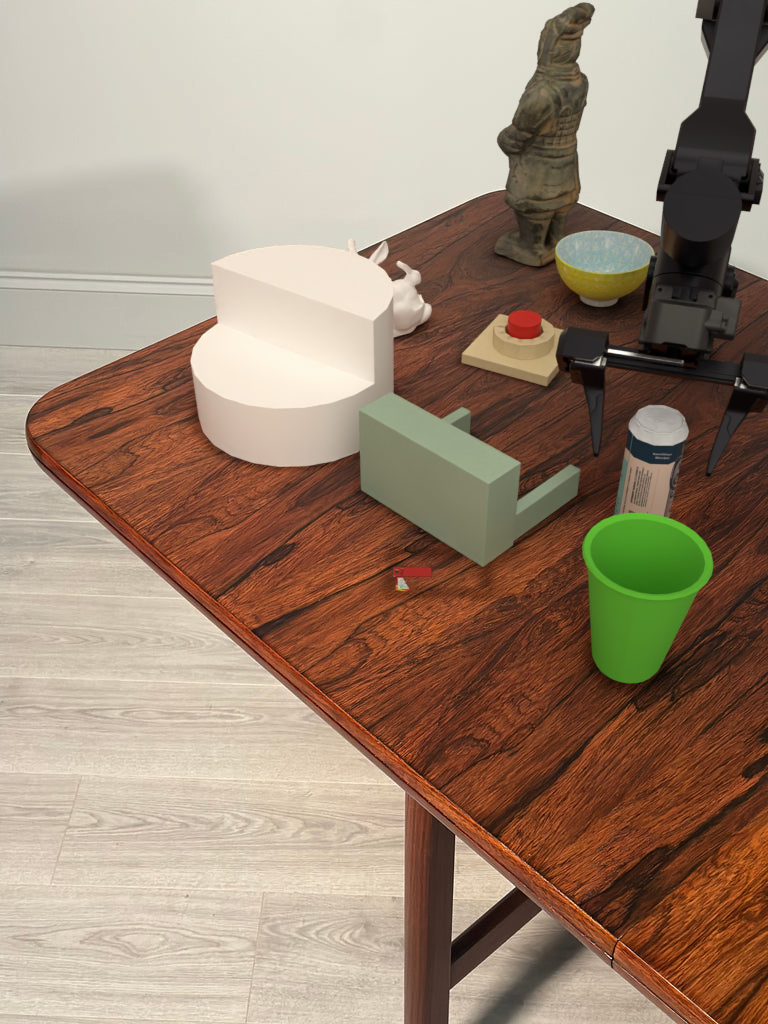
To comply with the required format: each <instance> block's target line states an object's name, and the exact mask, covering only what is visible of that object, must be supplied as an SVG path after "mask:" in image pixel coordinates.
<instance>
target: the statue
mask: <svg viewBox="0 0 768 1024" xmlns="http://www.w3.org/2000/svg"><path fill="white" fill-rule="evenodd" d="M595 11H596V8H595V6H594V5H593V4H591V2H584V1H582V2H579V3H577V4H575V5H573V6H570V7H567V8H566V9H565V10H563V11H562V12H561V13H559V14H557V15H555V16H554V17H552V18H549V19H547V20H546V21H545V23H544V27H543V28H542V29H541V31H540V34H539V39H538V43H537V52H536V57H537V58H536V59H537V62H536V69H535V70H534V73H533V75H532V76H531V78H530V79H529V80H528V82H527V84H526V85H525V87H524V91H523V93H522V94H521V97H520V98H519V100H518V105H517V107H516V110H515V112H514V114H513V117H512V120H511V123H510V124H509V125H508V126H506V127H504V128H503V129H502V130H500V132H499V133H498V135H497V137H496V143H497V146H498V147H499V149H500V150H501V152H502V153H503V154H504V155H505V156H506V157H508V158H507V159H508V173H507V179H506V183H505V190H506V191H505V194H504V197H503V201H504V204H506V205H507V206H508V207H509V208H510V209H513V213H514V215H515V219H516V221H517V227H516V228H514V229H512V230H507V231H505V232H503V233H502V234H501V235H500V237H498V238H497V239H496V241H495V244H494V248H493V252H494V253H495V254H497V255H499V256H504V257H506V258H508V259H510V260H513V261H515V262H517V263H520V264H523V265H527V266H533V267H543V266H546V265H548V264H550V263H552V262H554V261H556V259H555V248H556V245H557V244H558V242H559V241H560V240H561V239H563V238H565V237H566V236H567V235H566V223H567V219H568V215H569V211H570V210H571V209H572V206H573V205H575V204H577V203H578V202H579V200H580V194H581V191H582V185H581V178H580V165H579V164H580V163H579V153H578V137H577V133H578V131H579V129H580V126H581V121H582V119H583V118H582V117H583V114H584V110H585V108H586V106H587V104H588V102H587V98H588V93H589V89H590V82H589V79H588V76H587V74H585V73H584V72H582V70H581V68H580V65H579V63H578V62H577V60H578V59H579V57H580V56H581V55H580V54H581V51H582V50H581V49H582V37H583V36H584V33H585V32H584V31H585V29H586V28H587V27H588V26H589V25H590V24H591V23H592V21H593V20H592V18H593V16H594V14H595ZM495 245H496V246H498V247H501V248H502V249H505V250H508V251H511V252H514V253H515V254H514V253H511V252H508V251H505V250H502V249H499V248H496V247H495Z"/></svg>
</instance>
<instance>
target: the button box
mask: <svg viewBox="0 0 768 1024" xmlns="http://www.w3.org/2000/svg"><path fill="white" fill-rule="evenodd" d="M508 317H509V315H506V314H502V313H499V314H498V315H497V316H496V317H495V318H494V319H493V320H492V321H491V323H489V324H488V326H487V327H486V328H485V329H484V330H483V331H482V332H481V333H480V334H479V335H478V336H477V337H476V338H475V339H474V340H473V341H472V342H471V343H470V344H469V345H468V347H466V349H465V350H464V351H463V352H462V353H461V364H463V365H467V366H472V367H475V368H479V369H482V370H486V371H489V372H492V373H497V374H500V375H503V376H507V377H510V378H515V379H518V380H522V381H526V382H528V383H532V384H536V385H540V386H544V387H548V386H549V384H550V383H551V382H552V381H553V380H554V378H555V377H556V376H557V375H558V373H559V372H561V371H560V370H559V368H558V364H557V360H556V356H555V355H556V350H557V346H558V341H559V337H560V334H561V332H562V331H564V330H565V329H561V328H558V327H554V326H553V324H552V323H550V322H549V321H547V320H546V319H545V318H542V322H541V332H540V335H539V337H537V338H534V339H518V338H514V337H511V336H510V335H508V333H507V326H508Z"/></svg>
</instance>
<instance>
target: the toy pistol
mask: <svg viewBox="0 0 768 1024" xmlns="http://www.w3.org/2000/svg"><path fill="white" fill-rule="evenodd" d="M432 569H433V567H429V566H428V567H427V566H425V567H424V566H423V567H422V566H415V567H414V566H407V567H406V566H404V567H403V566H393V568H392V571H393V573H392V577H393V578H395V591H398V592H410V591H411V590H410V587H409V586H408V585H407V583H406V581H405V579H404V578H433V571H432ZM396 571H398V573H396Z"/></svg>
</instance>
